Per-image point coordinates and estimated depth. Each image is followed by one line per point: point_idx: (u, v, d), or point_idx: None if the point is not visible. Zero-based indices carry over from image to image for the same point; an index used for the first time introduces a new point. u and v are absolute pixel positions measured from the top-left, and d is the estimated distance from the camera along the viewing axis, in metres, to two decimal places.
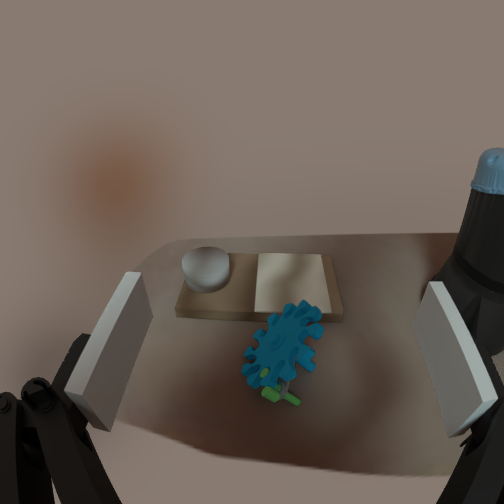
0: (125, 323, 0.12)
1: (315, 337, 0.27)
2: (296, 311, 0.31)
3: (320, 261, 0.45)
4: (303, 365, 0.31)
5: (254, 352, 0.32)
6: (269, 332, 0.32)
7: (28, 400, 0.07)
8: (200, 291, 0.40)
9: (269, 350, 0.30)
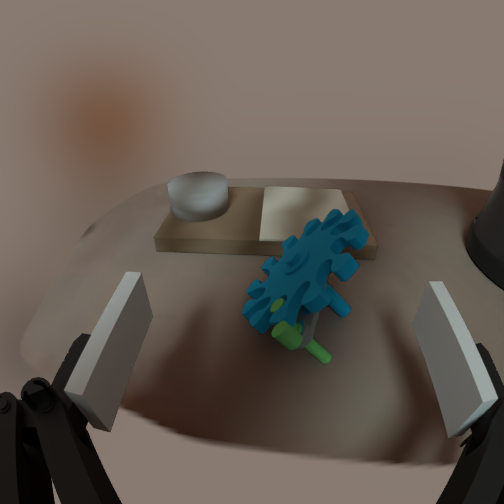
0: (125, 323, 0.12)
1: (357, 244, 0.17)
2: (324, 223, 0.22)
3: (341, 195, 0.36)
4: (334, 305, 0.21)
5: (263, 285, 0.22)
6: (284, 256, 0.23)
7: (28, 400, 0.07)
8: (189, 219, 0.31)
9: (285, 276, 0.21)
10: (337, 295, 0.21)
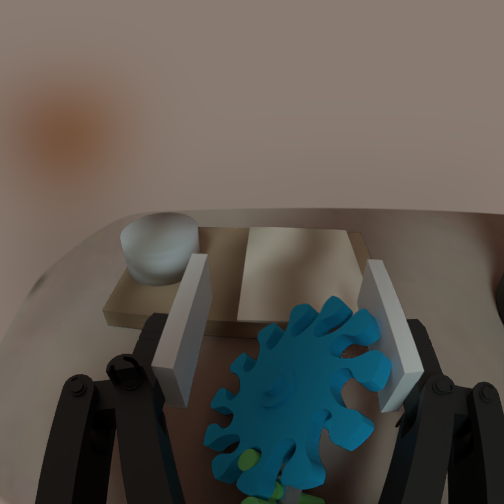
0: (198, 301, 0.13)
1: (373, 387, 0.10)
2: (319, 321, 0.14)
3: (347, 239, 0.28)
4: (330, 429, 0.14)
5: (231, 405, 0.15)
6: (261, 364, 0.15)
7: (112, 375, 0.09)
8: (148, 283, 0.23)
9: (260, 406, 0.13)
10: None
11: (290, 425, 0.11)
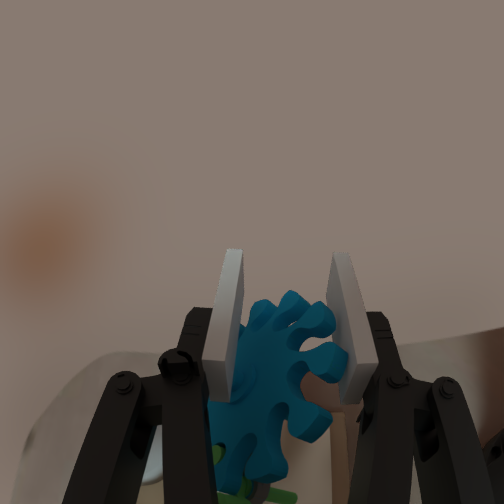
0: (237, 295, 0.14)
1: (329, 379, 0.10)
2: (277, 316, 0.15)
3: None
4: None
5: None
6: None
7: (163, 368, 0.09)
8: None
9: (223, 403, 0.13)
10: None
11: (251, 420, 0.11)
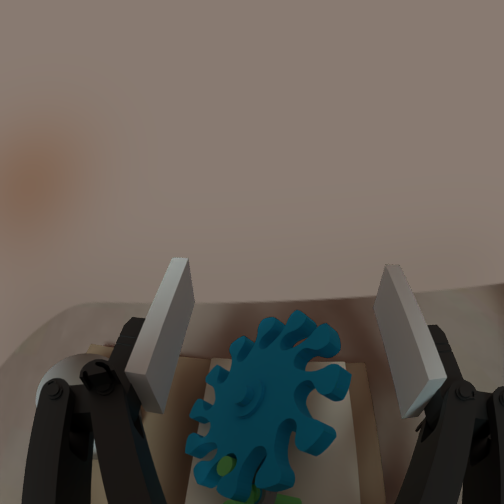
0: (176, 306, 0.13)
1: (334, 398, 0.11)
2: (284, 335, 0.15)
3: None
4: None
5: (207, 415, 0.15)
6: (233, 375, 0.16)
7: (86, 381, 0.09)
8: None
9: (233, 416, 0.14)
10: None
11: (260, 433, 0.12)
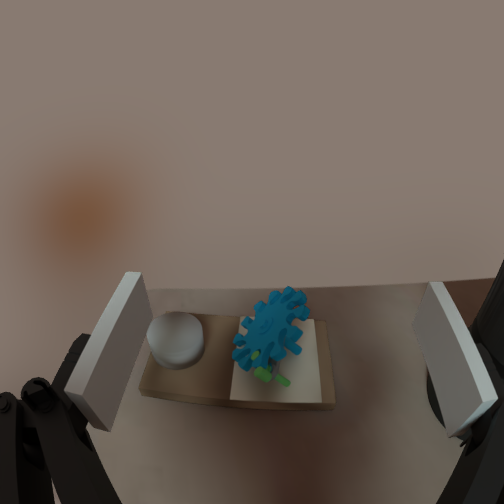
0: (125, 323, 0.12)
1: (302, 318, 0.29)
2: (282, 297, 0.34)
3: (313, 329, 0.37)
4: (290, 349, 0.33)
5: (244, 338, 0.34)
6: (257, 318, 0.34)
7: (28, 400, 0.07)
8: (168, 367, 0.32)
9: (258, 334, 0.32)
10: (292, 342, 0.33)
11: (271, 337, 0.30)
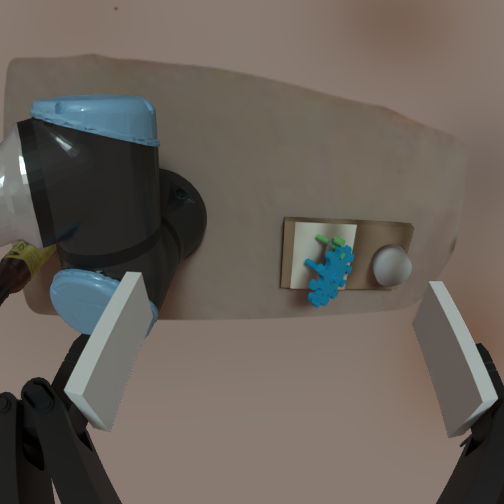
0: (125, 323, 0.12)
1: (314, 280, 0.42)
2: (321, 299, 0.46)
3: (292, 279, 0.51)
4: (313, 262, 0.48)
5: (346, 269, 0.47)
6: (337, 284, 0.47)
7: (28, 400, 0.07)
8: (395, 244, 0.46)
9: (338, 271, 0.46)
10: (312, 267, 0.47)
11: (332, 268, 0.44)
